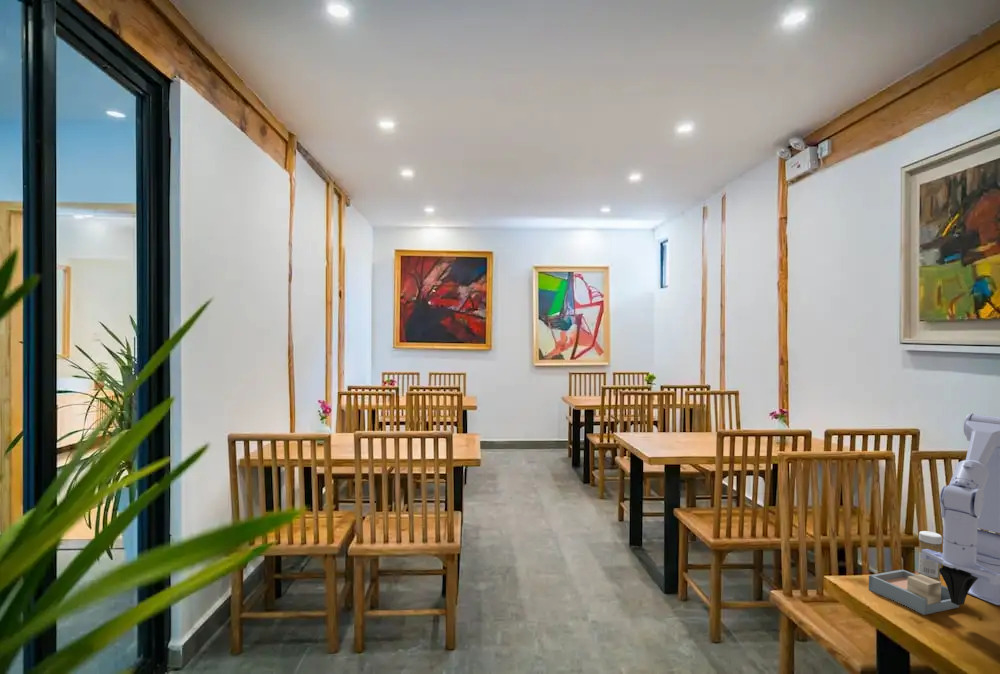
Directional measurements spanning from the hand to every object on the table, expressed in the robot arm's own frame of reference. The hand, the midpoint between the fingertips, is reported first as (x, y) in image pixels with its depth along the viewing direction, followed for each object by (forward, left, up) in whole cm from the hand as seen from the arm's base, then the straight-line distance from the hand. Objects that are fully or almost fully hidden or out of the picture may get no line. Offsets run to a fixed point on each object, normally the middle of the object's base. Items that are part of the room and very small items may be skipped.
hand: (957, 603), depth 123 cm
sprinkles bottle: (-13, -14, -5) cm, 20 cm away
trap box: (-2, -11, -4) cm, 12 cm away
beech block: (0, -7, -2) cm, 7 cm away
